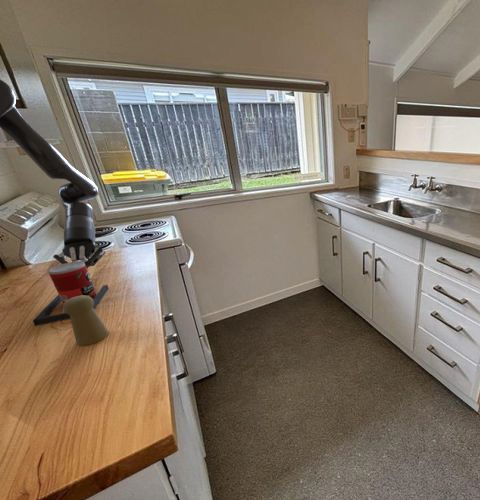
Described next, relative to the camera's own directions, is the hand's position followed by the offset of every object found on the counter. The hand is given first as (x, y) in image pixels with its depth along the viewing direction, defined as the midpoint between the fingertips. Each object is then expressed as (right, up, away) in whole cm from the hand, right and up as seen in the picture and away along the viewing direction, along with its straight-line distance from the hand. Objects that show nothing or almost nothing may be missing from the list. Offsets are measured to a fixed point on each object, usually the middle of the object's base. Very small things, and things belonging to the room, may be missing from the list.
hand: (81, 279), depth 89 cm
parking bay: (+3, -7, -5) cm, 10 cm away
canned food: (+2, -6, -2) cm, 7 cm away
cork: (+22, -12, -20) cm, 32 cm away
